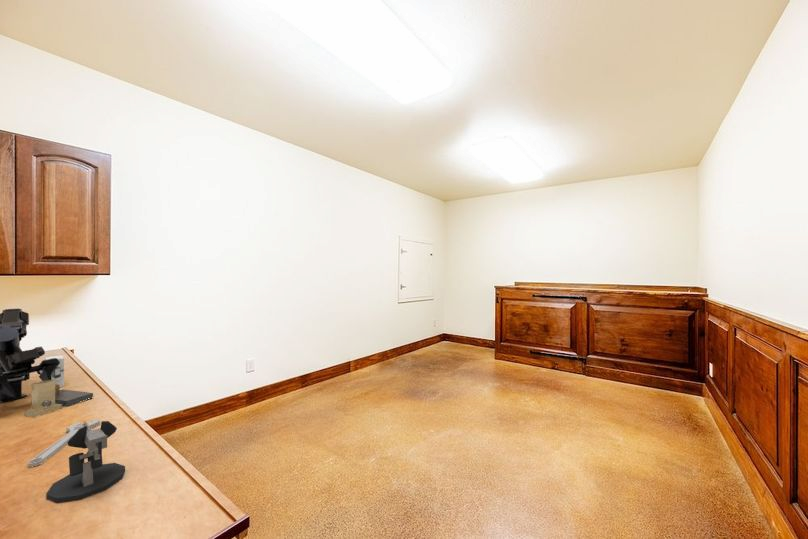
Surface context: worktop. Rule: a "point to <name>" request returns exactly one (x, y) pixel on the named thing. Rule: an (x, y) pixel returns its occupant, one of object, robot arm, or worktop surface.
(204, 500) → the worktop surface
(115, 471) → the gun turret
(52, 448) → the adjustable wrench
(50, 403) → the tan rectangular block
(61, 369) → the ink box
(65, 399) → the brushed steel slab
